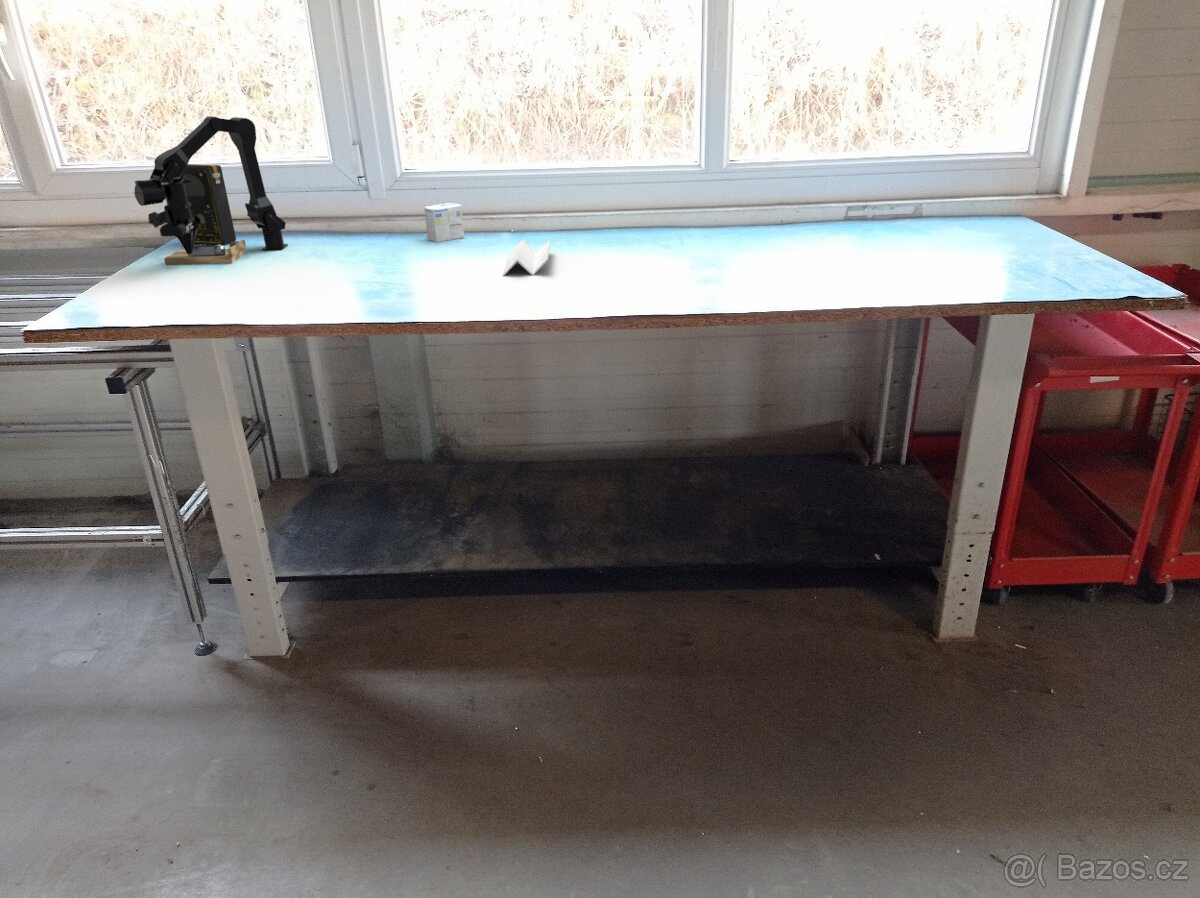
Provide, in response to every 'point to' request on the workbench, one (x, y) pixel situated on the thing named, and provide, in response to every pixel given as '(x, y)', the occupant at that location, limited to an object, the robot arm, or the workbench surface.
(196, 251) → the bar
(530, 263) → the z bracket
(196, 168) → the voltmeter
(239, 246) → the door board
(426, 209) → the light bulb box
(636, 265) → the workbench surface
